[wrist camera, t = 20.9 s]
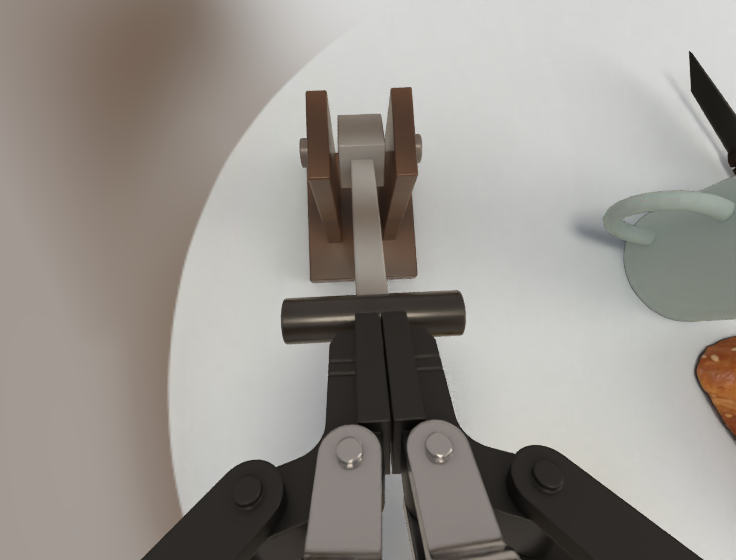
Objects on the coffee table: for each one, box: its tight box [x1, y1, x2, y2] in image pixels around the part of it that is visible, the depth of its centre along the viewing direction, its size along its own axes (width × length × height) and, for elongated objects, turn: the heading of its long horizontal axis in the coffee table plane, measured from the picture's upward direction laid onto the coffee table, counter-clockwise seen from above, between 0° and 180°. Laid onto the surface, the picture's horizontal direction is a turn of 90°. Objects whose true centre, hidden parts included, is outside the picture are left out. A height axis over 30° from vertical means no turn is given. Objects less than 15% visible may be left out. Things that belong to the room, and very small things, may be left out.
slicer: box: [300, 87, 422, 283], centre depth 24 cm, size 10×8×13 cm
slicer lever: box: [281, 114, 466, 344], centre depth 16 cm, size 12×6×2 cm, turn 3°
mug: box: [603, 175, 736, 322], centre depth 25 cm, size 14×9×10 cm
